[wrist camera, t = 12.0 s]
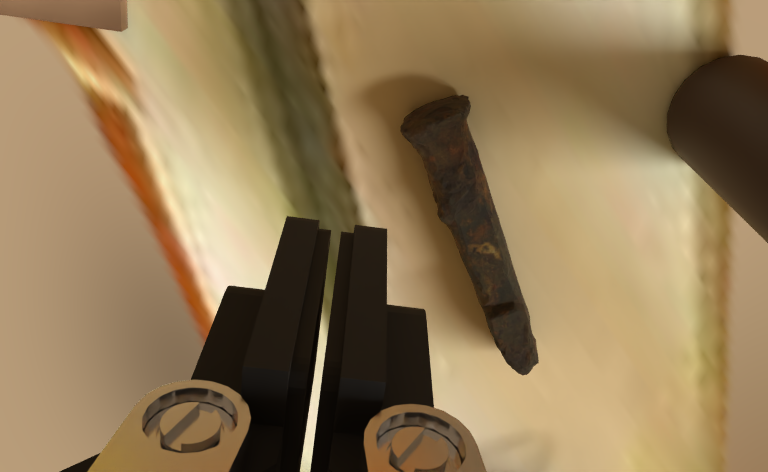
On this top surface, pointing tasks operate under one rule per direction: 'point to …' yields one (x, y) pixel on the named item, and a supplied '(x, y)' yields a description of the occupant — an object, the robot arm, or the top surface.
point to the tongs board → (71, 12)
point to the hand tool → (473, 222)
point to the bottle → (727, 132)
